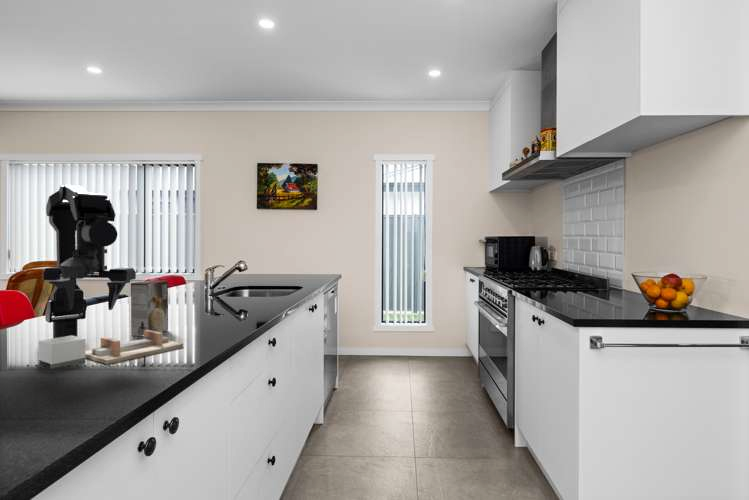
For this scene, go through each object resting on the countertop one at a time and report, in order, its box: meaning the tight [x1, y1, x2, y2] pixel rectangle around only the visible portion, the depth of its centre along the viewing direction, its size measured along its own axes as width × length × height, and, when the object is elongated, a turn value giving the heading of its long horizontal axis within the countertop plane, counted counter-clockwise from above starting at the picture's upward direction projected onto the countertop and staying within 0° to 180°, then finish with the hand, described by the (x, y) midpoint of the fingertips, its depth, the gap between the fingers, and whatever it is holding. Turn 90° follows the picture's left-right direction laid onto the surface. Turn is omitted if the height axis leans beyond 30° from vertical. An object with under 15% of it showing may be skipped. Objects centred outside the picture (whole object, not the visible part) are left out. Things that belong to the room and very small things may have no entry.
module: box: [38, 335, 86, 369], centre depth 104 cm, size 7×7×6 cm
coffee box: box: [130, 280, 169, 335], centre depth 137 cm, size 9×6×16 cm
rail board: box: [85, 330, 184, 365], centre depth 115 cm, size 14×20×4 cm
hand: (90, 309), depth 107 cm, fingers open, 9 cm apart
